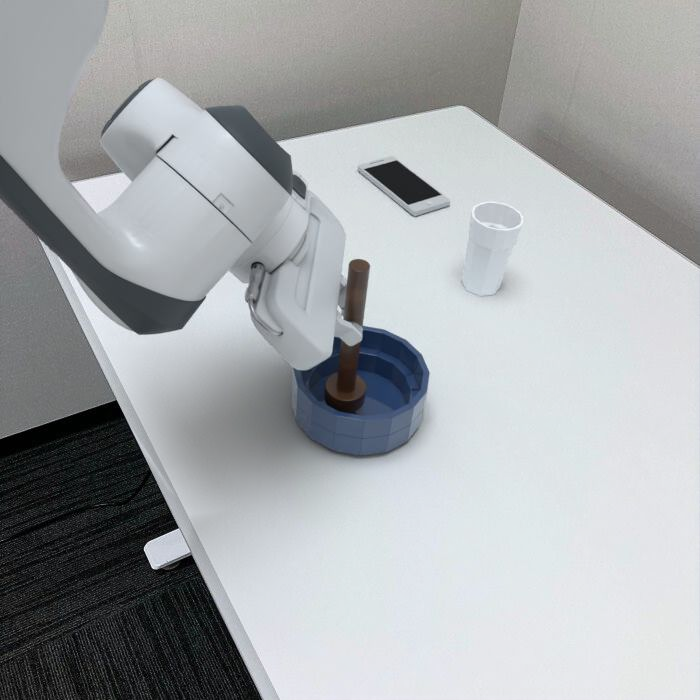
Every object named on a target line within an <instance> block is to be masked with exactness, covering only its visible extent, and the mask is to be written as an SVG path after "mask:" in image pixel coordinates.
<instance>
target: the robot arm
mask: <svg viewBox="0 0 700 700" xmlns="http://www.w3.org/2000/svg"><path fill="white" fill-rule="evenodd" d="M109 6H110V0H0V200H1V201H2V202H3V203H4V205H5V206H6V207H7V208H8V209H9V210H11V211H12V212H13V214H15V216H17V217H18V219H19V220H20V221H21V222H23V223H24V225H25V226H26V227H27V228H28V229H29V230H30V231H31V232H32V233H33V234H34V235H35V236H36V237H38V239H39V240H40V241H41V242H42V243H44V246H46V247H47V248H48V249H49V250H50V251H51V252H53V253H54V254H55V255H56V256H57V257H58V258H59V259H60V260H61V261H62V262H63V263H64V264H65V265H66V266H67V267H68V268H69V270H70V271H71V272H72V274H73V276H74V277H75V279H76V281H77V282H78V284H79V286H80V287H81V289H82V290H83V292H84V293H85V294H86V296H87V297H88V298H89V300H90V301H91V302H92V303H93V304H94V305H95V307H96V308H97V309H98V310H99V311H100V312H102V313H103V314H104V315H105V316H106V317H107V318H108V319H110V320H111V321H112V322H113V323H115V324H117V325H118V326H120V327H121V328H124V329H125V330H128V331H130V332H132V333H136V335H138V336H149V335H150V336H152V335H158V334H159V335H161V334H166V333H171V332H175V331H179V330H183V329H184V328H185V326H186V325H187V323H188V322H189V321H190V320H191V318H193V316H194V314H195V313H196V312H197V310H198V309H199V308H200V306H201V305H202V304H203V303H204V301H205V300H206V298H207V295H208V294H209V293H210V292H211V291H212V290H213V288H214V287H215V286H216V285H217V284H218V283H219V282H220V281H221V280H222V278H223V277H224V276H225V275H226V274H227V273H228V272H229V273H230V274H231V275H233V276H234V277H235V278H236V279H237V280H238V281H239V282H241V283H242V284H246V285H247V284H248V285H247V287H246V289H245V292H244V301H245V303H247V306H248V309H249V313H250V314H249V315H250V320H251V322H252V324H253V326H254V327H255V329H256V330H257V332H258V333H259V334H260V336H262V338H263V339H264V341H266V342H267V343H268V344H269V345H270V347H271V348H272V349H274V350H275V351H276V353H277V354H278V355H279V356H280V357H281V358H282V359H283V360H284V361H285V362H287V364H289V365H290V366H291V367H292V369H293V368H295V369H297V370H309V369H311V368H313V367H315V366H316V365H318V364H320V363H321V362H323V361H325V360H326V359H328V358H329V357H330V356H331V354H332V350H333V341H334V337H339V338H340V339H341V340H343V341H344V342H345V343H346V344H347V345H349V346H354V345H355V344H357V343H359V342H360V341H361V340H362V334H363V328H362V327H361V326H360V325H359V324H358V323H357V322H356V321H355V320H354V319H352V320H350V321H349V322H348V321H345V320H343V316H344V307H345V297H346V287H347V278H346V277H345V276H344V275H343V264H344V258H345V249H346V239H347V234H346V232H345V229H344V227H343V225H342V222H341V221H340V220H339V219H338V217H337V216H336V215H335V214H334V213H333V212H332V211H331V209H329V208H328V206H327V205H326V204H325V203H324V202H323V201H322V200H321V199H320V197H318V195H317V194H315V193H314V192H313V191H312V190H310V189H308V187H309V185H308V182H307V180H306V179H305V177H303V176H302V174H301V173H300V172H299V171H297V170H295V169H294V170H293V163H292V155H291V154H289V152H287V151H286V150H285V149H284V148H283V147H282V146H281V145H280V144H279V143H278V142H277V141H276V140H275V139H274V138H273V137H272V136H271V135H270V134H269V133H268V132H267V131H266V129H264V127H263V126H262V125H261V124H260V123H259V121H257V119H255V117H254V116H253V115H252V114H251V113H250V111H249V110H248V109H247V108H246V107H245V106H244V105H241V104H238V105H236V104H235V105H219V106H218V105H217V106H209V107H204V109H202V108H201V107H200V106H199V105H198V104H197V103H196V102H195V101H193V100H192V99H191V98H190V97H188V96H187V95H185V94H184V93H183V92H181V90H180V89H178V88H177V87H176V86H174V85H172V84H171V83H170V82H169V81H167V80H165V79H164V78H162V77H155V78H152V79H148V80H146V81H144V82H143V83H142V84H140V85H139V86H138V88H137V89H135V90H134V91H133V92H132V93H131V94H130V95H129V96H128V97H127V98H126V99H125V100H124V101H122V103H121V104H120V105H119V106H118V108H116V110H115V111H114V112H113V114H112V115H111V117H110V119H108V120H107V121H106V123H105V125H104V126H103V129H102V130H101V132H100V139H99V144H100V146H101V148H102V149H103V151H104V152H105V153H106V155H107V156H108V157H109V158H110V159H111V160H112V161H113V163H114V164H115V165H116V166H117V167H118V169H120V170H121V172H122V173H123V174H124V175H125V177H127V179H129V181H130V184H128V186H127V187H126V188H125V190H123V192H122V193H120V195H119V196H118V197H117V198H116V199H115V200H114V201H113V202H112V203H111V204H110V205H109V206H107V207H106V208H104V209H103V210H100V211H99V212H96V211H95V210H94V208H93V207H92V206H91V205H90V204H89V202H88V201H87V199H85V198H84V197H83V195H82V194H81V193H80V191H79V190H78V189H77V187H75V186H74V185H73V183H72V182H71V180H70V179H69V178H68V177H67V175H66V174H65V173H64V171H63V169H62V166H61V163H60V154H59V153H60V142H61V135H62V132H63V128H64V124H65V121H66V118H67V114H68V112H69V110H70V106H71V103H72V101H73V97H74V95H75V93H76V90H77V88H78V86H79V83H80V81H81V79H82V76H83V74H84V73H85V70H86V68H87V67H88V64H89V62H90V60H91V58H92V56H93V54H94V52H95V50H96V48H97V46H98V44H99V42H100V39H101V37H102V34H103V33H102V32H103V31H104V27H105V23H106V19H107V15H108V11H109ZM338 307H339V308H340V310H341V311H339V310H338Z"/></svg>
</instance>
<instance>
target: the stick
mask: <svg viewBox="0 0 700 700" xmlns="http://www.w3.org/2000/svg"><path fill="white" fill-rule="evenodd" d="M370 270H371V265H370V263H369V262H368V261H367V260H366V259H362V258H354V259H352V260H350V261H349V262H348V268H347V278H346V279H347V287H346V297H345V307H344V316H342V319H343V320H345V321H348V322H349V321H350V320H352V319H354V320H355V321H356V322H357V323H358V324H359V325H360V326H361V327H362V328H363V326H364V320H365V311H366V303H367V294H368V286H369V278H370V272H371V271H370ZM360 344H361V341H360V342H359V343H357V344H355V345H354V346H349V345H347V344H346V343H345V342H344V341H343V340H341V346H340V356H339V366H338V373H335V374H333V375H331V376H330V377H329V378H328V379H327V381H326V384H325V394H324V399H325V402H326V404H327V405H328V406H330V407H331V408H333V409H335V410H337V411H339V412H345V413H352V412H355V411H357V410H359V409H360V408H361V407H362V406H363V404H364V401H365V394H366V384H365V382H364V380H363V379H362V378H361V377H360V376H358V375H357V368H358V360H359V352H360Z"/></svg>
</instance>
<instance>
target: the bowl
mask: <svg viewBox="0 0 700 700" xmlns="http://www.w3.org/2000/svg"><path fill="white" fill-rule="evenodd" d="M340 346H341V339H340V338H339V337H334V341H333V350H332V354H331V356H330V357H329V358H328V359H326V360H325V361H323V362H321V363H320V364H318V365H316V366H315V367H313V368H311V369H309V370H297V369H295V368H293V367H292V382H291V383H292V384H291V406H292V410H293V415H294V419H295V422H296V423H297V424H298V425H299V427H300V428H301V429H302V430H303V431H304V433H305V434H306V435H307V436H308V437H309V439H311V440H312V441H315V442H316V443H319V444H320V445H322V446H324V447H326V448H328V449H329V450H331V451H333V452H338V453H339V452H340V453H344V454H350V455H355V456H367V455H368V456H369V455H375V454H382V453H387V452H389V451H391V450H393V449H395V448H397V447H400V446H401V445H404V444H405V443H407V442H409V440H410V439H411V437H413V435H414V433H415V432H416V431H417V430H418V428H419V427H420V426H421V422H422V417H423V414H424V413H423V412H424V408H425V404H426V398H427V395H428V389H429V382H430V375H431V374H430V370H429V368H428V365H427V363H426V361H425V358H424V356H423V354H422V353H421V352H420V351H419V350H418V349H417V348H416V347H414V345H413V344H411V342H409V341H408V340H407V339H406V338H403V337H401V336H399V335H397V334H395V333H393V332H391V331H388V330H386V329H384V328H379V327H374V326H373V327H372V326H367V325H363V334H362V340H361V344H360V352H359V360H358V368H357V375H358V376H360V377H361V378H362V379H363V380H364V382H365V384H366V394H365V401H364V404H363V406H362V407H361V408H360V409H359V410H357V411H355V412H352V413H345V412H339V411H337V410H335V409H333V408H331V407H330V406H328V405H327V404H326V402H325V399H324V394H325V384H326V381H327V379H328V378H329V377H330V376H331V375H333V374H335V373H338V366H339V356H340Z"/></svg>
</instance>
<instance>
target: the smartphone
mask: <svg viewBox="0 0 700 700" xmlns="http://www.w3.org/2000/svg"><path fill="white" fill-rule="evenodd" d="M357 171H358V172H359V173H360V174H361V175H363V176H364V177H365V178H366V179H367V180H368V181H370V182H371V183H372V184H374V185H375V186H376V187H377V188H378V189H380V190H381V191H382V192H383V193H385V194H386V195H387V196H388V197H389V198H390V199H392V200H393V201H394V202H395V203H397V204H398V205H400V207H402V208H403V209H404V210H405V211H406V212H408V213H409V214H411V215H412V216H414V217H418V216H421V215H424V214H427V213H430V212H433V211H436V210H440V209H443V208H445V207H446V208H447V207H449V206H450V204H451V200H450V198H449V197H447V196H446V195H445V194H444V193H442V192H441V191H439V190H438V189H437V188H436V187H434V186H433V185H431V183H429V182H427V181H426V180H425V179H424V178H422V177H421V176H420V175H418V174H417V173H416V172H414V171H413V170H412V169H410V168H409V167H408V166H407V165H405V164H404V163H403V162H402V161H400V160H399V159H398V158H396V157H395V156H393V155H390V156H386V157H383V158H380V159H376V160H371V161H367V162H364V163H360V164H358V165H357Z"/></svg>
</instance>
